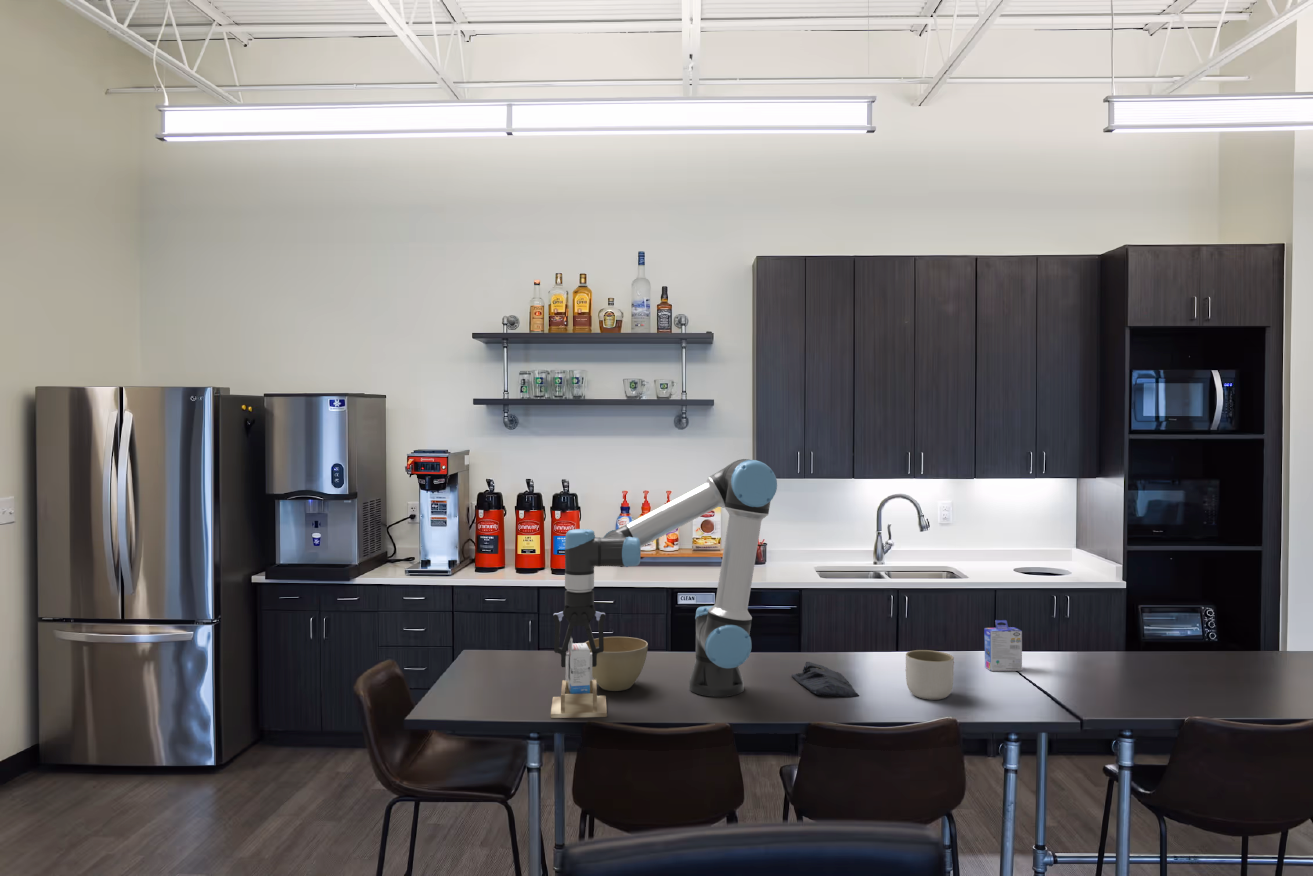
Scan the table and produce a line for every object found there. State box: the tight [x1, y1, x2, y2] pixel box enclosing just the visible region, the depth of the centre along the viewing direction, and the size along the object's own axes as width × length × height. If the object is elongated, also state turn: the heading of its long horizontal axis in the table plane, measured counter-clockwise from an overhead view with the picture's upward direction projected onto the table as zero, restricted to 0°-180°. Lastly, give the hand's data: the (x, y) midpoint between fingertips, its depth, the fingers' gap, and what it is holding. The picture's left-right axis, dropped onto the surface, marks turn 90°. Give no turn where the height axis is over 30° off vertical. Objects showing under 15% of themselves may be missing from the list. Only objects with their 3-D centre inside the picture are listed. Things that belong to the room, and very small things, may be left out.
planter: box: [905, 649, 955, 701], centre depth 232 cm, size 12×12×11 cm
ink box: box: [567, 636, 590, 694], centre depth 220 cm, size 8×5×15 cm, turn 12°
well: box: [550, 679, 608, 719], centre depth 220 cm, size 14×14×6 cm
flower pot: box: [584, 636, 649, 692], centre depth 239 cm, size 18×18×12 cm
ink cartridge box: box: [983, 619, 1023, 672], centre depth 258 cm, size 10×6×14 cm, turn 92°
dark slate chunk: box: [791, 661, 860, 698], centre depth 241 cm, size 15×22×5 cm
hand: (578, 679), depth 220 cm, fingers closed on ink box, 5 cm apart
